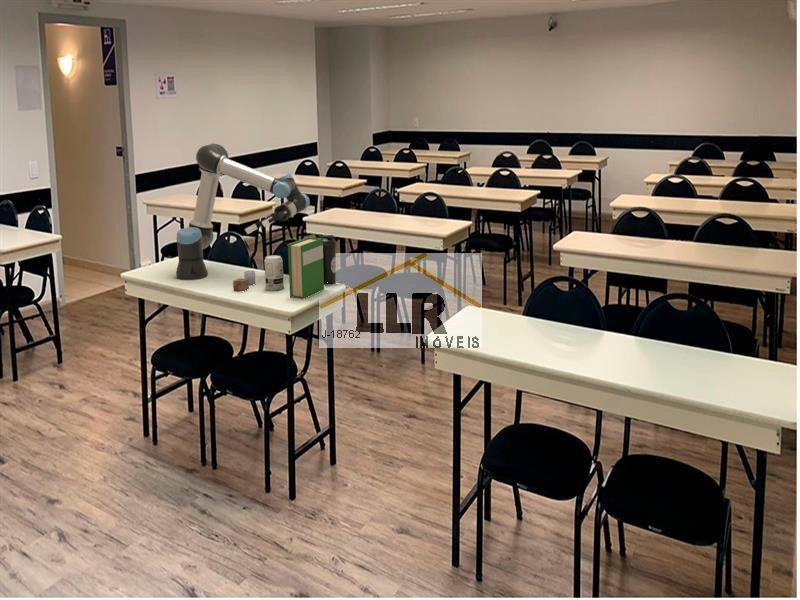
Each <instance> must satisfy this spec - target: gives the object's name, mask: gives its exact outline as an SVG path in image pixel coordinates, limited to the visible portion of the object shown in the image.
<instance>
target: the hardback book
mask: <svg viewBox="0 0 800 600" xmlns="http://www.w3.org/2000/svg"><path fill="white" fill-rule="evenodd" d="M287 255H288V256H287V257H288V277H289V279H288V280H289V283H288V285H289V298H293V296H294V297H301V298H302V299H303V298H305V299H307V298H309V297H308V296H310V297H312V296H313V294H314V295H315V293H316V294H318V293H320V292H322V291H324V290H325V285H324V269H323V238H317V237H311V236H310V237H309V236H308V237H306V238H302V239H300V240H296V241H294V242H290V243H288V244H287ZM323 289H324V290H323ZM321 290H322V291H321ZM319 291H320V292H319ZM317 292H318V293H317ZM311 295H312V296H311ZM306 297H307V298H306Z"/></svg>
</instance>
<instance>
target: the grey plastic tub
mask: <svg viewBox="0 0 800 600" xmlns="http://www.w3.org/2000/svg"><path fill="white" fill-rule="evenodd" d="M243 275H244V279H248V282H249V286H254V285H253V284H255V283H256V271H255V270H245V271H244V273H243ZM256 284H257V283H256ZM256 284H255V285H256Z"/></svg>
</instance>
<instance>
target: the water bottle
mask: <svg viewBox="0 0 800 600" xmlns="http://www.w3.org/2000/svg"><path fill="white" fill-rule="evenodd" d="M334 237H335V235H333V234H330V235H323V234H318V235H317V236H316V238H323V269H324V286H329V285H328V284H332V285H334V284H336V280H337V278H336V276H337V274H336V273H337V264H336V263H337V257H336V256H337V255H336V254H337V251H336V250H337V245H338V244H337V241H336V239H335V238H334ZM327 282H328V283H327Z"/></svg>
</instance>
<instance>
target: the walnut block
mask: <svg viewBox="0 0 800 600" xmlns="http://www.w3.org/2000/svg"><path fill="white" fill-rule="evenodd" d="M232 287H233V289H232V290H233V292H239V291H244V292H246V291H248V290H247V289H249V290H250V285H249V282H248V279H245V278H242V277H239V278H238V277H237V278H236V279H234V280H232ZM245 290H246V291H245Z"/></svg>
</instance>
